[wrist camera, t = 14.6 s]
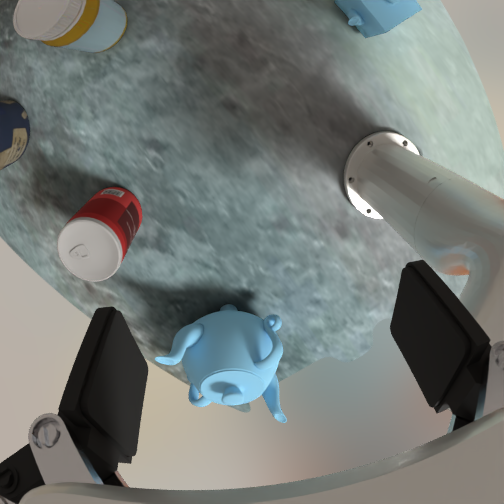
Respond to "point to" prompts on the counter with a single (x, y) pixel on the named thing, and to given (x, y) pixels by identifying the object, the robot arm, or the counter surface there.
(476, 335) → the robot arm
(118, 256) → the canned food
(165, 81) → the counter surface
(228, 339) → the teapot
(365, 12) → the teapot
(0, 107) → the canister
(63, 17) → the bottle
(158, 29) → the counter surface
